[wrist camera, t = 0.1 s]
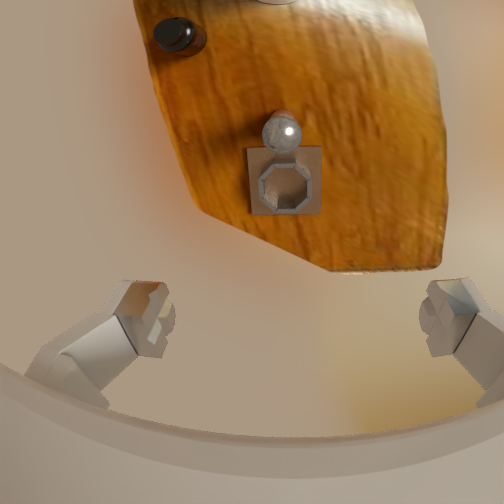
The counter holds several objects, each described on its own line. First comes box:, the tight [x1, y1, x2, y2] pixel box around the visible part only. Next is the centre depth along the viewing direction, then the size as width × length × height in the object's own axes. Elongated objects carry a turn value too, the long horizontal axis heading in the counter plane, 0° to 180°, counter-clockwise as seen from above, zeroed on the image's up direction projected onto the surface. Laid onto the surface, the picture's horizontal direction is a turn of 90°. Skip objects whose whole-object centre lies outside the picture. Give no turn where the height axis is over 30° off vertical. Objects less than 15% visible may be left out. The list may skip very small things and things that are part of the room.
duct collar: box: [247, 146, 322, 215], centre depth 53 cm, size 14×14×5 cm
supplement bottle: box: [153, 17, 207, 56], centre depth 36 cm, size 7×7×12 cm
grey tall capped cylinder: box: [262, 109, 302, 154], centre depth 41 cm, size 5×5×18 cm
